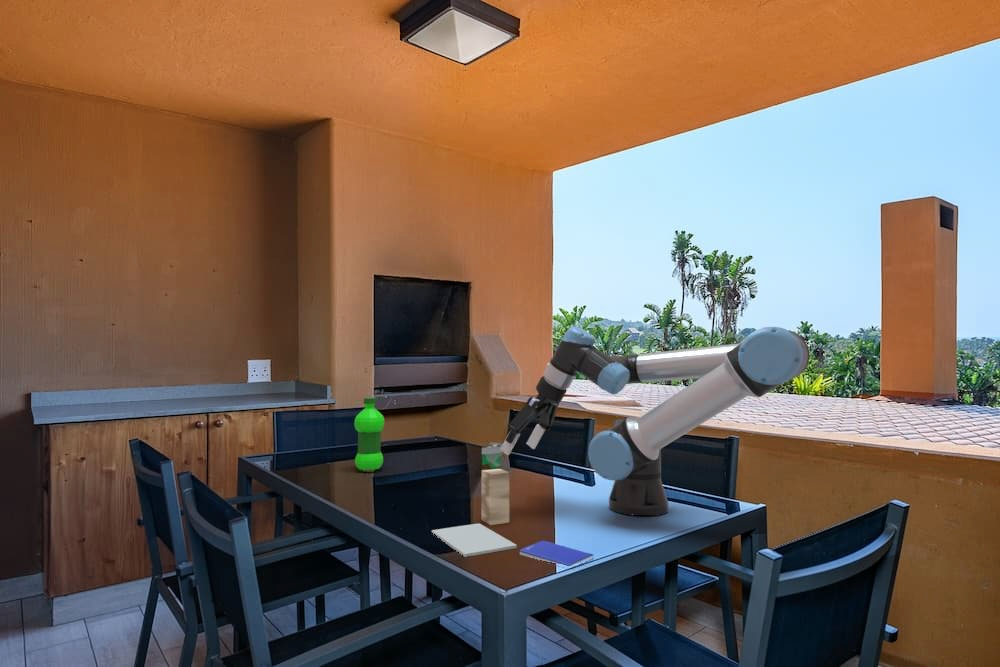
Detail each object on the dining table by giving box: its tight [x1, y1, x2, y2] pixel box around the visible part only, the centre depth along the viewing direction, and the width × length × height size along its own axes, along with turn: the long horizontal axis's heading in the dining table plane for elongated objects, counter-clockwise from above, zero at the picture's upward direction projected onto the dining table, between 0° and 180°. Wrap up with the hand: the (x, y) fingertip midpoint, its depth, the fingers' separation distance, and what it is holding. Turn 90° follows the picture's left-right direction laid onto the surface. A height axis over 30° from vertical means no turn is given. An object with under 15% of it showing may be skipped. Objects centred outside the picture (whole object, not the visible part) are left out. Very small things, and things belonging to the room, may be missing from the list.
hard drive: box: [519, 540, 595, 566], centre depth 119 cm, size 2×8×12 cm
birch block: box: [480, 468, 510, 526], centre depth 144 cm, size 5×5×12 cm
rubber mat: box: [431, 522, 518, 558], centre depth 129 cm, size 18×12×1 cm, turn 28°
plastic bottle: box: [353, 397, 385, 470], centre depth 205 cm, size 10×10×25 cm
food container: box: [481, 442, 504, 471], centre depth 198 cm, size 12×6×10 cm, turn 168°
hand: (517, 449), depth 160 cm, fingers open, 13 cm apart
